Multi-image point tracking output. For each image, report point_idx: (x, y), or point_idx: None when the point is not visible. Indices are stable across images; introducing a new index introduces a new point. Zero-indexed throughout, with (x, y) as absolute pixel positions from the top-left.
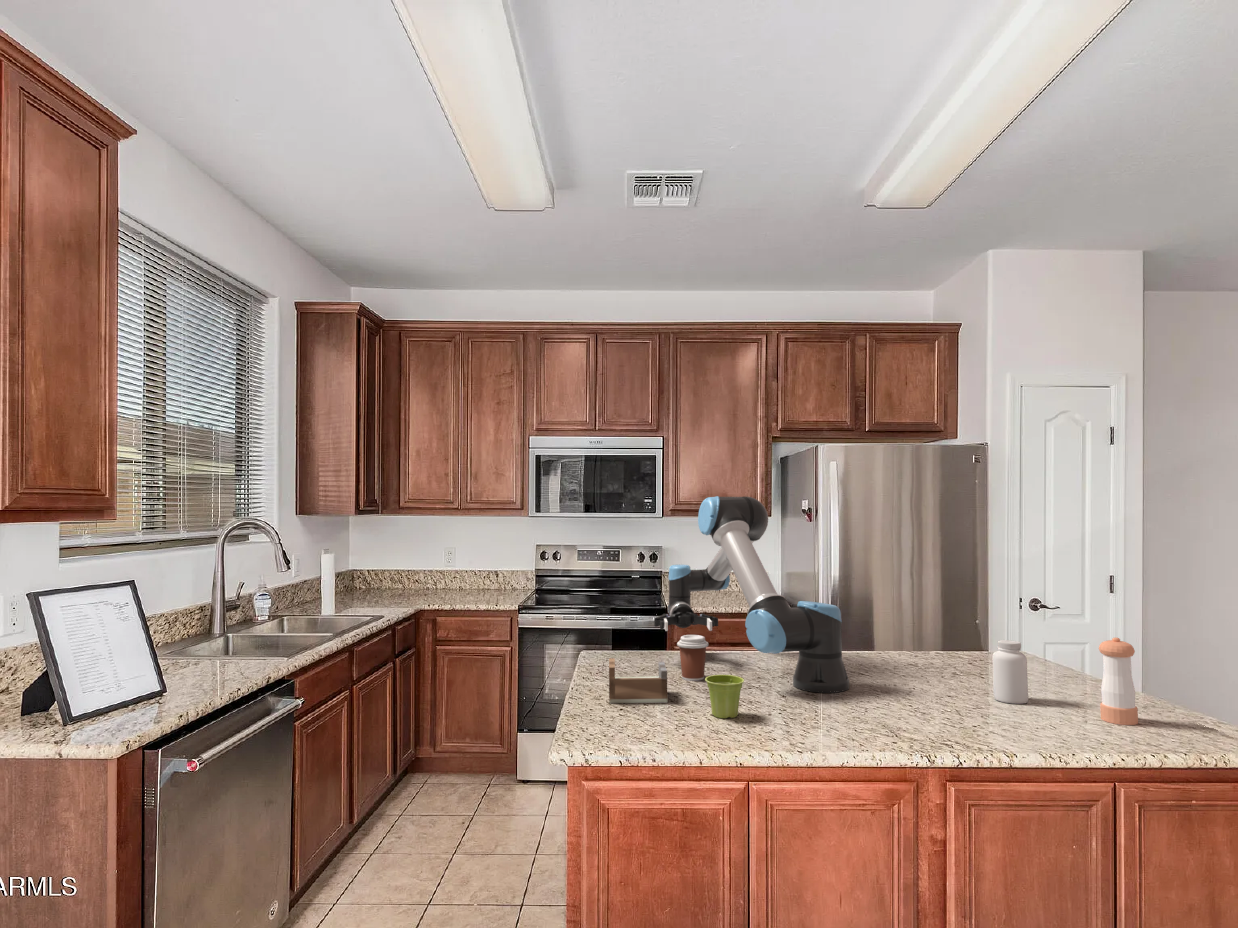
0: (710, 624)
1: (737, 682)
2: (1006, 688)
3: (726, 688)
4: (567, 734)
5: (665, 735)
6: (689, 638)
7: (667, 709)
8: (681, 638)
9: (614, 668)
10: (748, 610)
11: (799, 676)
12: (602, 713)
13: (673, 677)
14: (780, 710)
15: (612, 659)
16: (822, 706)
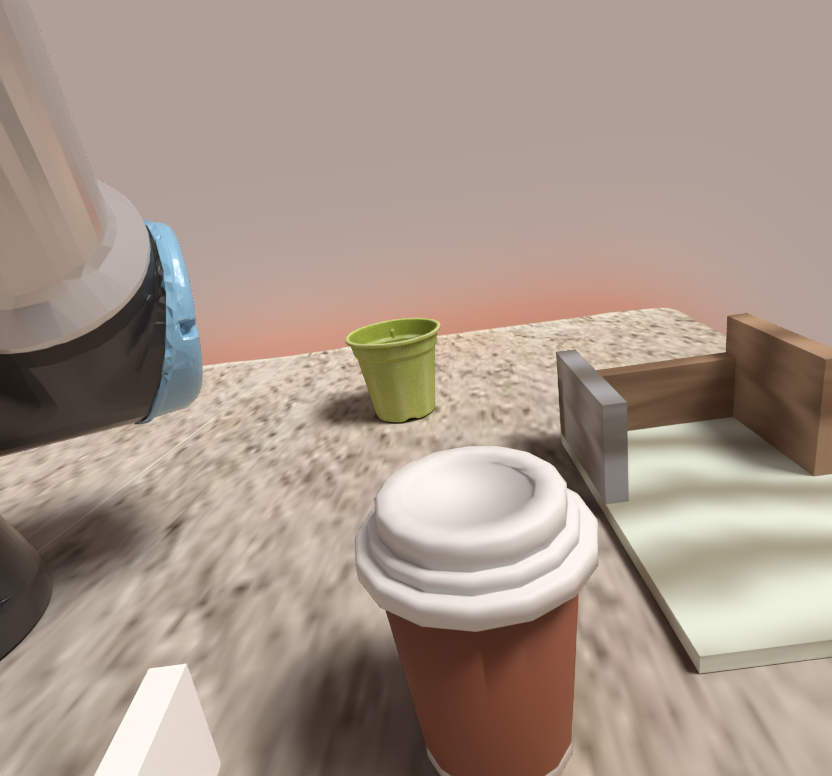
0: (185, 698)
1: (358, 355)
2: None
3: (396, 330)
4: (705, 328)
5: (526, 349)
6: (490, 453)
7: (549, 414)
8: (553, 468)
9: (728, 317)
10: (149, 242)
11: (27, 555)
12: None
13: (638, 737)
14: (261, 445)
15: (821, 352)
16: (134, 476)
